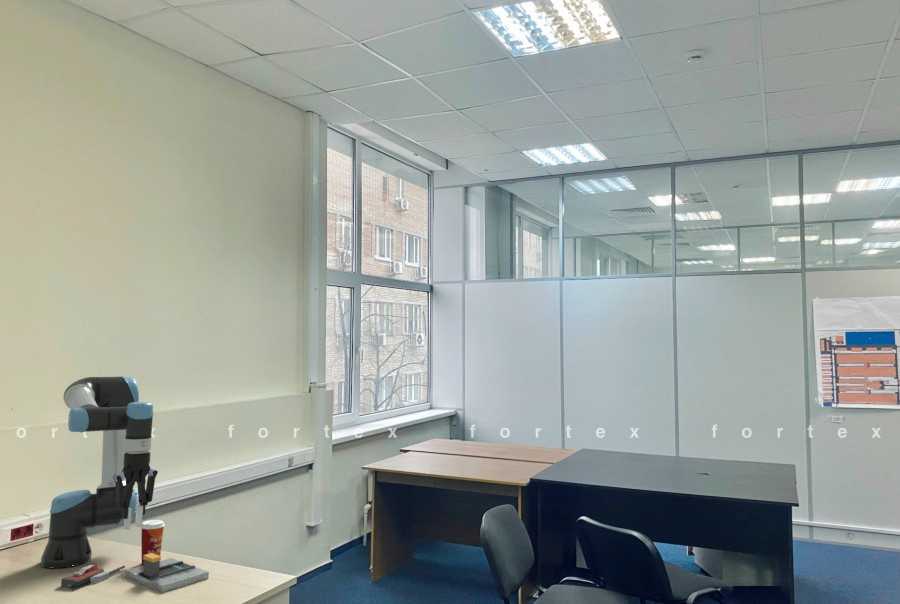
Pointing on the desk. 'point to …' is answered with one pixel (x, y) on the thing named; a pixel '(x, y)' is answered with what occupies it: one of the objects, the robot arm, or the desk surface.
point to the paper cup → (152, 537)
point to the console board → (168, 575)
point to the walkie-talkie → (86, 577)
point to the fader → (151, 565)
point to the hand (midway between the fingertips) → (132, 527)
